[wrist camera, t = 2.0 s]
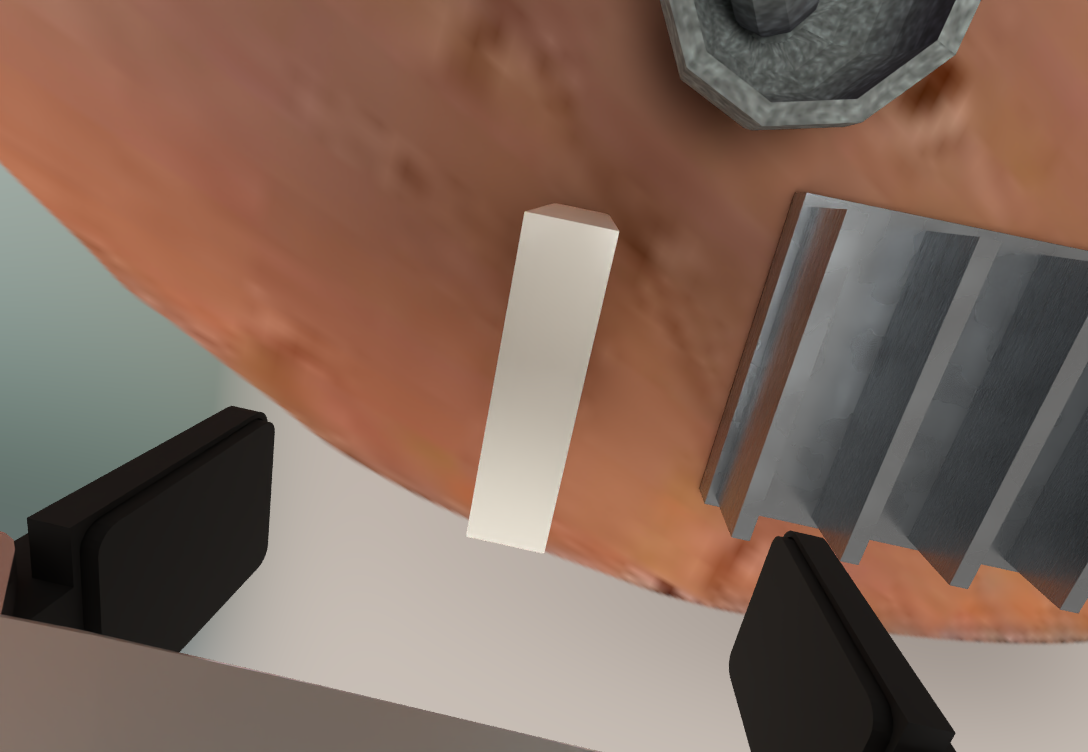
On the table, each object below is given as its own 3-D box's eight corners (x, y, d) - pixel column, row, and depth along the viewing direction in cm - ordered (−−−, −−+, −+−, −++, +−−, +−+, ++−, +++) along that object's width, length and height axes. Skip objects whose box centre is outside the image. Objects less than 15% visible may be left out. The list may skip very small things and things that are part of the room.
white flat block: (516, 402, 29) (466, 536, 18) (555, 202, 26) (524, 211, 15) (564, 413, 29) (544, 553, 18) (609, 214, 26) (619, 231, 15)
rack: (699, 488, 30) (718, 544, 25) (795, 192, 25) (841, 192, 20) (1004, 555, 30) (1082, 624, 25) (1158, 268, 25) (1291, 285, 20)
